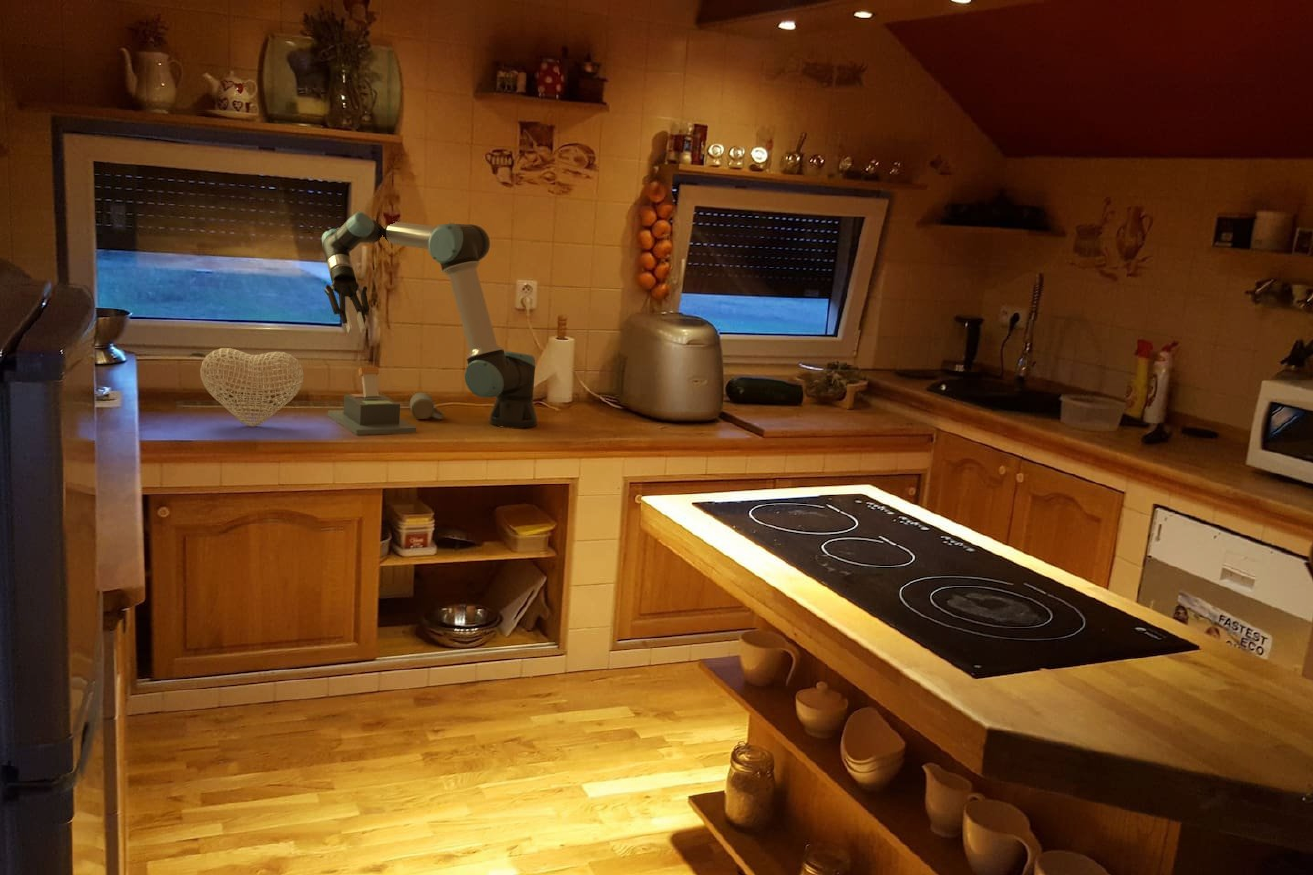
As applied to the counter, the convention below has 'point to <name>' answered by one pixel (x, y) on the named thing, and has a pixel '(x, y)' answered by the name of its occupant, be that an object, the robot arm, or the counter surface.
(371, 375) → the breaker lever
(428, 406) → the ceramic mug
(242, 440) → the counter surface
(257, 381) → the heart
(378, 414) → the breaker box
